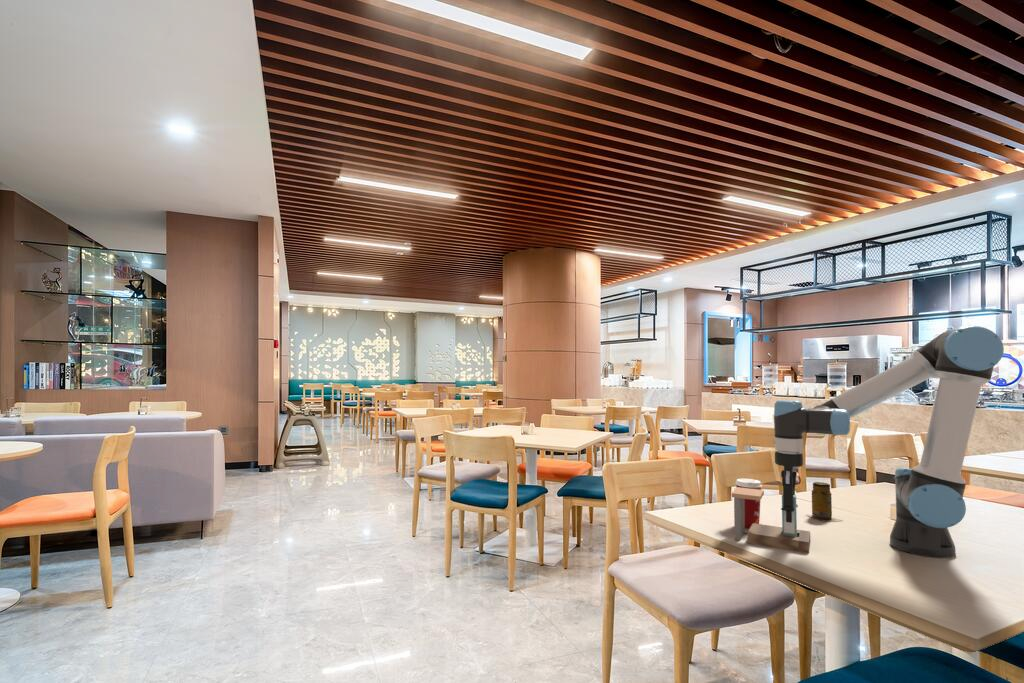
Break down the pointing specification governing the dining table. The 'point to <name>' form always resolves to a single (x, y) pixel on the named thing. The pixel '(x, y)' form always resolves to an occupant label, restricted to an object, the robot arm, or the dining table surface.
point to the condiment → (822, 502)
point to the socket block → (778, 538)
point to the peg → (794, 518)
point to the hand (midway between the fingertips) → (789, 530)
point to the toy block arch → (739, 508)
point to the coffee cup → (750, 502)
